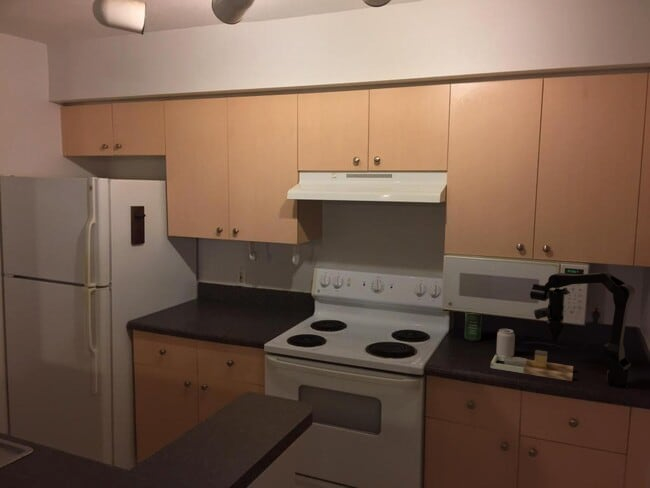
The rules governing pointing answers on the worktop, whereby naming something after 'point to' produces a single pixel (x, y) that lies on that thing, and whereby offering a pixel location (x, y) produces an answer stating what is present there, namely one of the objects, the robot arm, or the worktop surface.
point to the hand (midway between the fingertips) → (554, 339)
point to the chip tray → (505, 367)
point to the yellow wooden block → (540, 359)
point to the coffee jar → (473, 326)
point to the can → (505, 342)
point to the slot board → (550, 370)
